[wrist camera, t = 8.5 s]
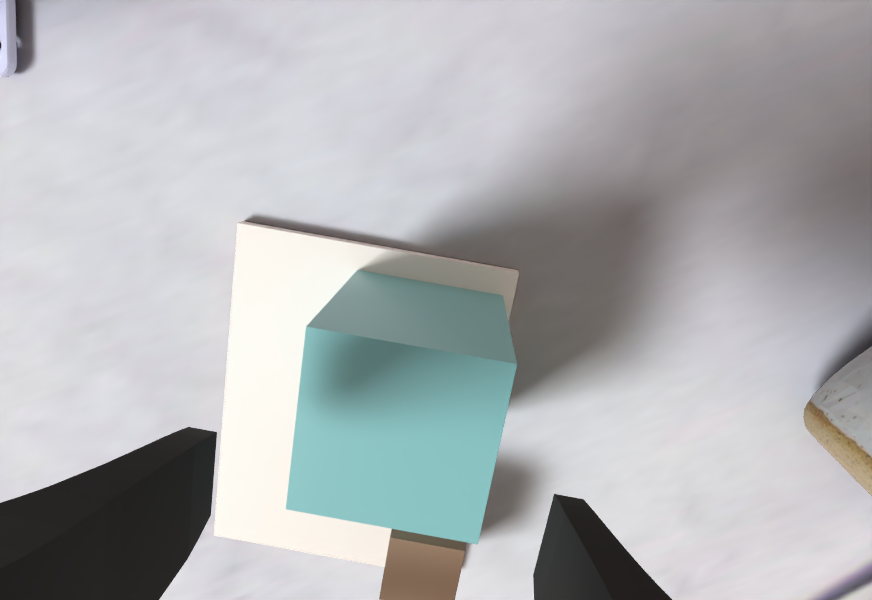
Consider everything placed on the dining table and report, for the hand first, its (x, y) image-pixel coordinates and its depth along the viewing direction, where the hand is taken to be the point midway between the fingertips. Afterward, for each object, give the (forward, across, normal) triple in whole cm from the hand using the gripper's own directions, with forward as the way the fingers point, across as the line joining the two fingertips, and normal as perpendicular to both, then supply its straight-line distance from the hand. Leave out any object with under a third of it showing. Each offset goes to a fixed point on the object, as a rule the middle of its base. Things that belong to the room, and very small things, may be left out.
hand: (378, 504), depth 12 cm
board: (+10, +2, +3) cm, 10 cm away
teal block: (+9, 0, 0) cm, 9 cm away
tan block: (+9, -2, +7) cm, 12 cm away
